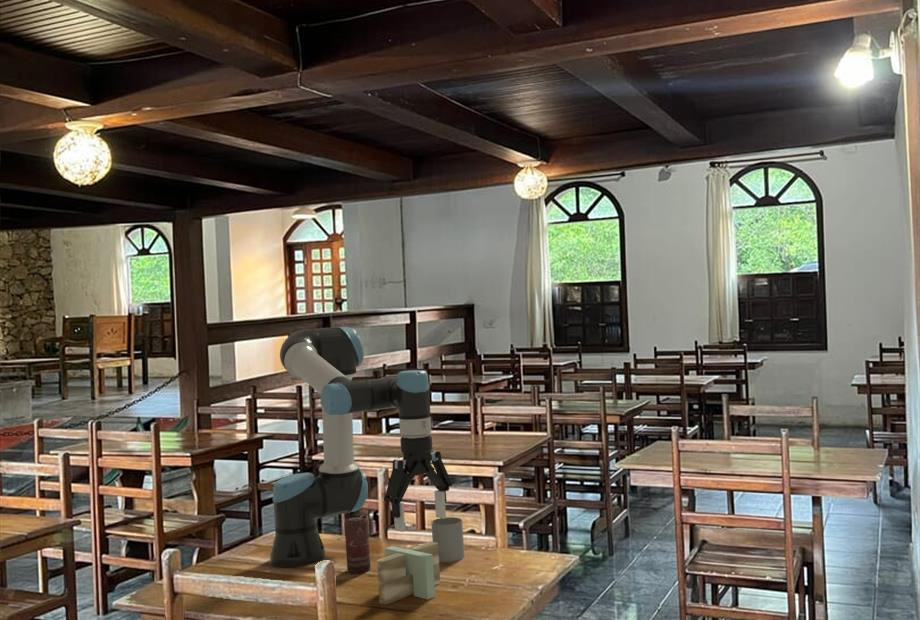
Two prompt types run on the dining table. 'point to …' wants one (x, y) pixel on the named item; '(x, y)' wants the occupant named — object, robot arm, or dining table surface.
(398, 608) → the dining table surface
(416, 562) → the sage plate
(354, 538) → the can
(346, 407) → the robot arm
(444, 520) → the cup
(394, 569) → the birch plate
